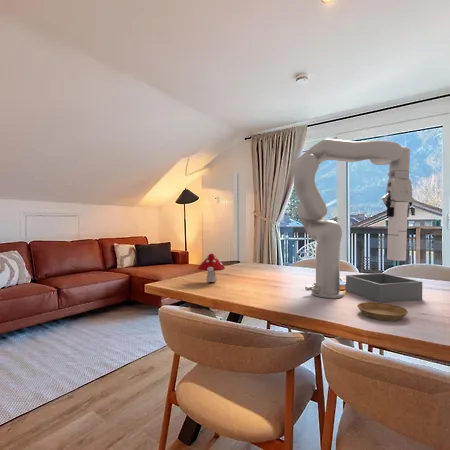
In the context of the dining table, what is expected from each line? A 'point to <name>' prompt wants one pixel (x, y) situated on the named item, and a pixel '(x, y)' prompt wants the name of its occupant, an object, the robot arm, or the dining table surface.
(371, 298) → the walled bin
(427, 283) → the dining table surface
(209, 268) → the decorative mushroom
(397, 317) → the plant saucer
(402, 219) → the cylindrical container
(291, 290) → the dining table surface
